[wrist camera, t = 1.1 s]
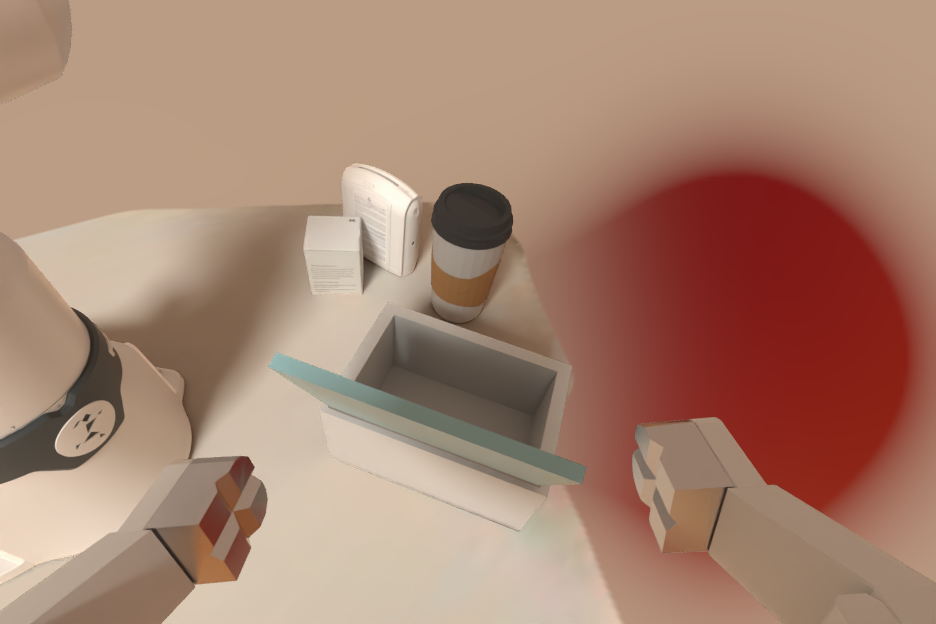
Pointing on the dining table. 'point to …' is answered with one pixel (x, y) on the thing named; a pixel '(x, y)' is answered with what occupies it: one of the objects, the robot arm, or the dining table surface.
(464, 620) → the dining table surface
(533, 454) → the cover
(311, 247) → the product box
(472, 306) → the coffee cup
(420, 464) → the white box
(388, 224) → the photo printer
